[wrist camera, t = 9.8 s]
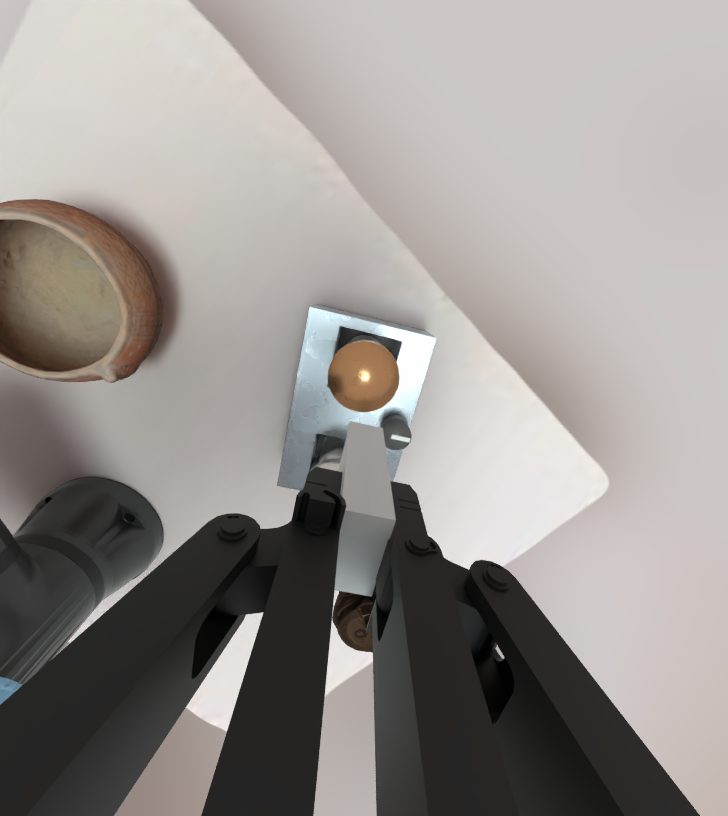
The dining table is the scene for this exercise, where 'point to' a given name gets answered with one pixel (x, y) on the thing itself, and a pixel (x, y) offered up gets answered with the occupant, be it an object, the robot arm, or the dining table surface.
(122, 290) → the bowl
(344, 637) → the coffee cup
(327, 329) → the mount
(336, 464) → the white light bulb
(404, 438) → the knob
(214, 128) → the dining table surface
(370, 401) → the orange light bulb
